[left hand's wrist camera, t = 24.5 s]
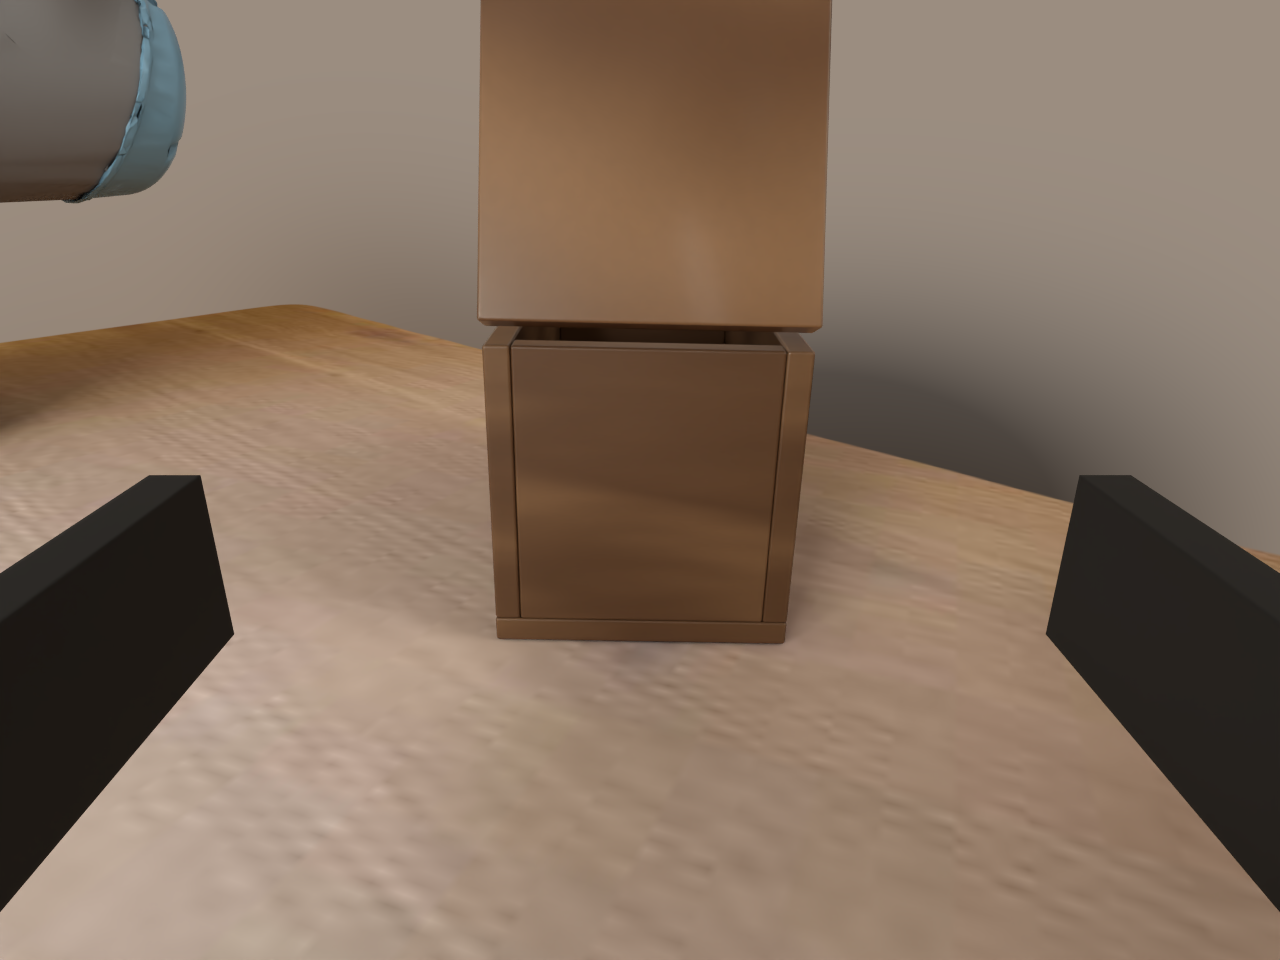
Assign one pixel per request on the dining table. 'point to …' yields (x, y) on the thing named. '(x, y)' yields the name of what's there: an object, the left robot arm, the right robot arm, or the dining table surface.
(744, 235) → the lid
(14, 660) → the left robot arm
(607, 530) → the chest
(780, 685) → the dining table surface
